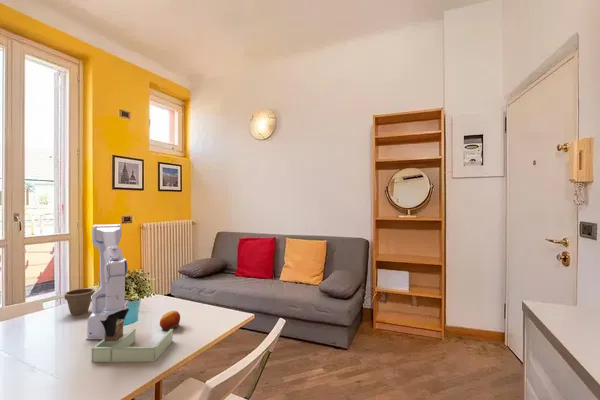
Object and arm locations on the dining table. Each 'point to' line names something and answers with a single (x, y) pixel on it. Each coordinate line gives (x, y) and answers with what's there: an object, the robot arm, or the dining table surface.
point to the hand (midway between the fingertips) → (114, 333)
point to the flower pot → (79, 300)
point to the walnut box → (116, 331)
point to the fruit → (170, 320)
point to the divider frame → (129, 349)
